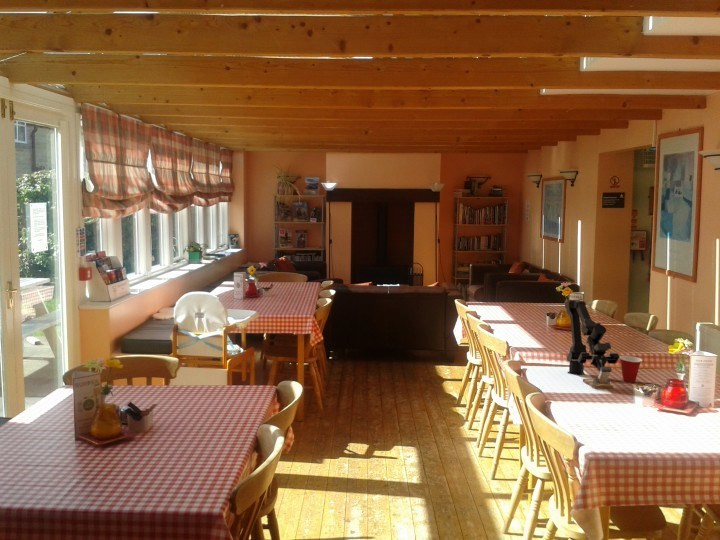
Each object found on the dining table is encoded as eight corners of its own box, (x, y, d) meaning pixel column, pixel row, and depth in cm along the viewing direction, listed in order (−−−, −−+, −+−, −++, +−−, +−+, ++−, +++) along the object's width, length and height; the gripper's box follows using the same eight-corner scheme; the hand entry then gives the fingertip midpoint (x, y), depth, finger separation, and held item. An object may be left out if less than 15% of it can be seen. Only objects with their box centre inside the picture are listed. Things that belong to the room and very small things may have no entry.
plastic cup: (630, 384, 354) (631, 360, 353) (613, 379, 364) (614, 356, 363) (645, 382, 359) (647, 358, 358) (628, 378, 369) (629, 355, 368)
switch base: (582, 381, 357) (583, 373, 357) (600, 381, 358) (600, 373, 357) (594, 388, 342) (595, 380, 341) (613, 389, 342) (613, 380, 342)
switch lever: (596, 381, 346) (600, 366, 340) (605, 381, 346) (610, 366, 341) (597, 384, 344) (602, 369, 339) (606, 384, 345) (611, 369, 339)
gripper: (581, 336, 347) (588, 363, 337) (618, 336, 349) (627, 363, 338) (574, 349, 356) (581, 376, 345) (611, 349, 357) (619, 376, 347)
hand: (602, 372), depth 344 cm, fingers closed
